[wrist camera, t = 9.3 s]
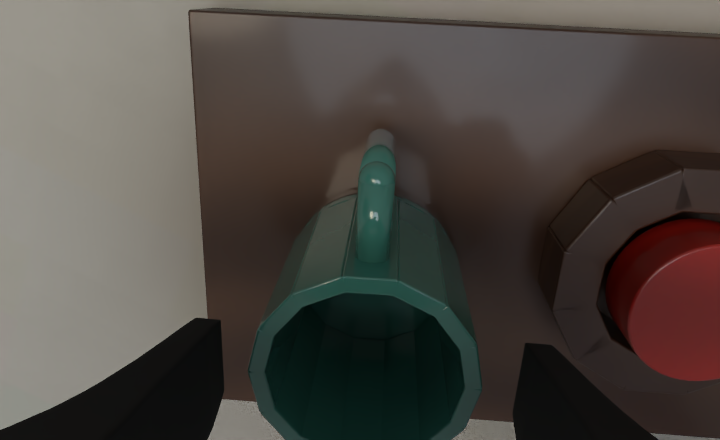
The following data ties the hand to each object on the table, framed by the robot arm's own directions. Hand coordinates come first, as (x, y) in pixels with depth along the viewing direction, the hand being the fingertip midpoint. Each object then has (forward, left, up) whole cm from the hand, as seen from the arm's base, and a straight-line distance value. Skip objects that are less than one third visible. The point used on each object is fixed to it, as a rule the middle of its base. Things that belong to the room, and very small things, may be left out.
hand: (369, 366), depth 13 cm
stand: (+1, -3, -7) cm, 8 cm away
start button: (+1, -8, -3) cm, 9 cm away
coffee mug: (+1, 0, -5) cm, 5 cm away
